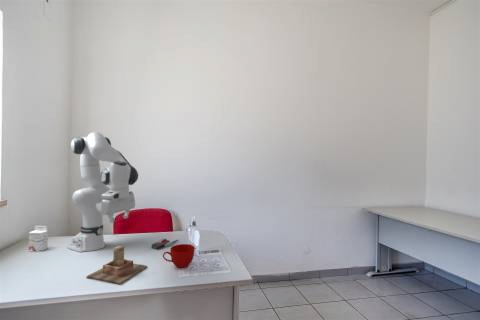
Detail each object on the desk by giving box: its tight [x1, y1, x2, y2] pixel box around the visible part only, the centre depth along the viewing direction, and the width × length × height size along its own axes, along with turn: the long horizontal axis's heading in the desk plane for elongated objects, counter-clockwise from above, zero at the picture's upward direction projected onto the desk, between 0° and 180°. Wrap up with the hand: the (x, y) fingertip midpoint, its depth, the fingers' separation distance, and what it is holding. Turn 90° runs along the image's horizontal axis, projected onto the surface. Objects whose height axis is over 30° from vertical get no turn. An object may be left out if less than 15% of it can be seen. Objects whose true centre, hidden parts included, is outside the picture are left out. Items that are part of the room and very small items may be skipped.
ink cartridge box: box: [28, 225, 49, 251], centre depth 163 cm, size 9×5×15 cm, turn 92°
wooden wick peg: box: [112, 245, 125, 267], centre depth 135 cm, size 4×4×12 cm
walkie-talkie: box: [151, 238, 179, 250], centre depth 177 cm, size 9×4×20 cm
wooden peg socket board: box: [86, 258, 148, 286], centre depth 135 cm, size 20×20×5 cm
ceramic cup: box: [162, 243, 196, 269], centre depth 143 cm, size 13×17×10 cm
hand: (119, 220), depth 134 cm, fingers open, 8 cm apart
